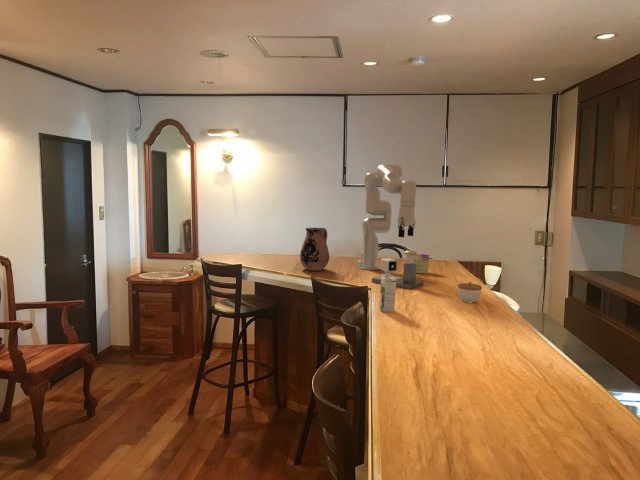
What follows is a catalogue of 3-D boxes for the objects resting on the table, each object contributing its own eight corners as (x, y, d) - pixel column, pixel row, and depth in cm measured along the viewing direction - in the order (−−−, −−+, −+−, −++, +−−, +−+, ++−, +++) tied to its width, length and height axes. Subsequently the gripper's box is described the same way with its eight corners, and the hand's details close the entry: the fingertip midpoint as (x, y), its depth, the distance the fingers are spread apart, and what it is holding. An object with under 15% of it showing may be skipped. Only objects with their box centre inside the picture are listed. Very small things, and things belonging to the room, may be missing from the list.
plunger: (401, 272, 276) (403, 251, 274) (407, 271, 280) (408, 250, 279) (412, 274, 272) (413, 252, 270) (417, 273, 277) (418, 251, 275)
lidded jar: (463, 297, 255) (464, 278, 253) (484, 301, 248) (485, 282, 247) (453, 301, 246) (454, 281, 245) (475, 305, 240) (476, 285, 238)
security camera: (387, 278, 280) (388, 260, 279) (379, 276, 286) (380, 258, 285) (396, 278, 283) (397, 259, 282) (388, 275, 289) (389, 257, 288)
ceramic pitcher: (294, 270, 308) (296, 228, 305) (309, 265, 328) (310, 225, 324) (322, 273, 302) (323, 230, 298) (335, 268, 321) (336, 227, 318)
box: (427, 272, 319) (428, 253, 318) (428, 273, 314) (429, 254, 312) (410, 271, 320) (411, 252, 319) (410, 272, 315) (411, 253, 313)
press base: (371, 282, 283) (372, 260, 281) (384, 278, 294) (385, 257, 292) (411, 289, 268) (412, 266, 267) (423, 285, 280) (424, 263, 278)
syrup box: (378, 308, 227) (380, 276, 226) (391, 308, 228) (393, 276, 226) (381, 312, 222) (383, 278, 220) (394, 312, 222) (396, 279, 220)
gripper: (409, 203, 283) (407, 234, 285) (393, 204, 269) (391, 237, 271) (421, 204, 278) (419, 236, 280) (405, 205, 265) (404, 238, 267)
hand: (405, 236), depth 276 cm, fingers open, 9 cm apart
